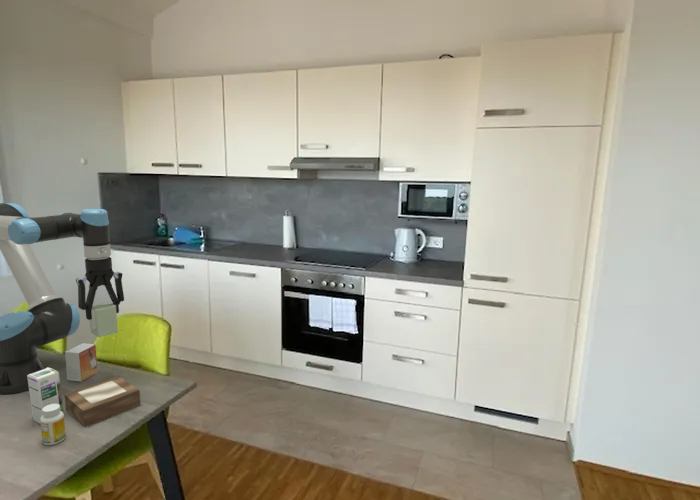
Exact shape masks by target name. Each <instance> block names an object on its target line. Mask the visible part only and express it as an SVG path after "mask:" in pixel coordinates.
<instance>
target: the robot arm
mask: <svg viewBox="0 0 700 500" xmlns="http://www.w3.org/2000/svg"><path fill="white" fill-rule="evenodd" d="M108 215H109V214H108V211H107V210H106V209H104V208H87V209H82V210H81V211H80V213H73V212H60V213H59V214H57V215H55V214H54V215H48V216H37V217H34V216H33V217H30V216H29V214H28V212H27V211H26V209H25V208H23V206H21V205H19V204H16V203H14V202H13V203H11V202H8V203H7V202H0V252H1V254H2V256H3V258H4V260H5V262H6V263H7V266H8V268H9V270H10V272H11V274H12V275H13V278H14V279H15V281H16V283H17V286H18V287H19V289H20V291H21V293H22V295H23V297H24V299H25V301H26V303H27V304H28V307H27V310H22V311H21V310H20V311H16V312H11V313H7V314H3V315H1V316H0V395H10V394H17V393H22V392H25V391H29V385H28V378H27V375H29V374H32V373H35V372H37V371H40V370H43V369H45V368H44V365H43V364H42V363H41V361H40V359H39V357H38V348H40V347H42V346H45V345H48V344H50V343H53V342H57V341H58V340H59V341H60V340H64V339H65V338H67V337H69V336H72V335H74V334H75V333H76V332H77V331H78V330H79V326H80V322H81V317H80V313H79V310H78V308H79V309H81V310H82V311H85V318H86V320H88V321H89V327H90V329H91V328H92V329H96V322H95V311H94V309H92V306H94V303H95V302H94V301H95V297H96V293H97V290H98V287H101V286H104V287H105V289H106V292H107V294H108V295H109V299H110V301H111V302H112V303H111V304H112V305H114V306H116V315H117V316H118V314H119V313H120V308H119V305H120V304H121V302H124V301H125V294H124V288H123V282H122V280H123V273H122V272H120V271H114V270H113V263H112V260H113V259H112V257H111V255H112V251H111V234H110V221H109V216H108ZM70 238H82V241H83V255H84V258H85V259H84V264H85V275H84V276H83V277H81V278H76V279H75V281H76V284H77V293H78V294H77V297H78V299H77V300H78V301H77V302H78V304H77V305H78V308H77V306H76V305H74V304H73V303H72V302H66V301H65V300H64V297H62V296H59V295H56V293H55V291H54V289H53V287H52V285H51V283H50V282H49V280H48V277H47V276H46V274H45V272H44V270H43V267H42V265H41V264H40V262H39V260H38V259H37V256H36V255H35V253H34V251H33V248H32V246H31V245H33V244H35V243H42V242H47V241H54V240H55V241H56V240H61V239H70ZM112 278H114V284H115V290H114V288H113V284H112V282H111V280H112ZM87 281H88V283H89V285H88V293H87V297H86V283H87ZM115 292H116V293H115Z"/></svg>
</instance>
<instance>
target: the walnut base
mask: <svg viewBox="0 0 700 500" xmlns="http://www.w3.org/2000/svg"><path fill="white" fill-rule="evenodd" d="M140 393H141V391H140V389H139V388H137V387H136V386H134V385H133V384H131V383H130V382H128V381H127V380H125V379H124V378H123V377H121V376H120V375H117V376H114V377H111V378H108V379H106V380H103V381H102V380H101V381H100V382H97V383H93V384H91V385H87V386H84V387H81V388H78V389H76V390H72V391H70V392H67V393H64V403H65V410H66V411H67V412H68V413H69V414H70V415H71V416H72V417H74V419H75V420H77V422H79V423H80V424H81V425H82V426H83V427H84V428H86V427H89V426H91V425H94V424H96V423H98V422H101V421H103V420H107V419H109V418H111V417H114V416H116V415H118V414H122V413H124V412H126V411H128V410H131V409H134V408H136V407H138V406H141V394H140Z"/></svg>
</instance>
